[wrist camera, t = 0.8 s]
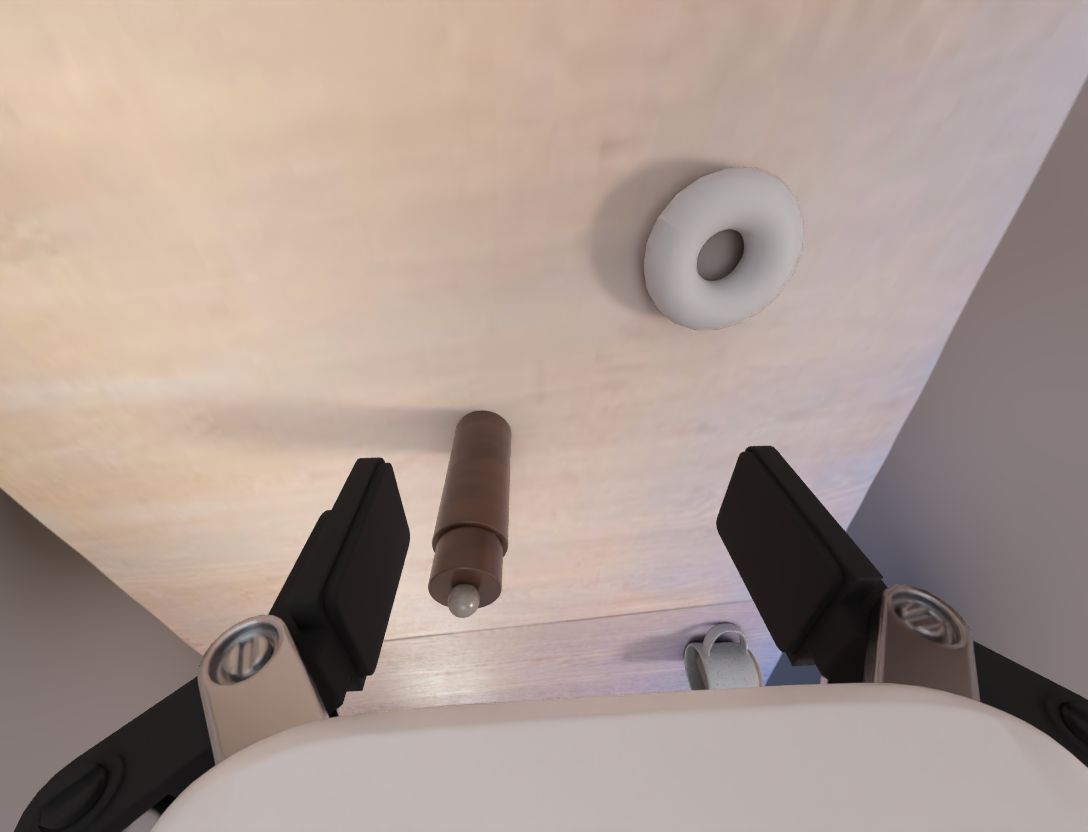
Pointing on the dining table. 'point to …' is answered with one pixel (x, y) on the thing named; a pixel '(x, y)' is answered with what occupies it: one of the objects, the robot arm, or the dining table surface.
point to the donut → (699, 214)
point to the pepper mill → (473, 516)
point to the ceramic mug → (721, 662)
